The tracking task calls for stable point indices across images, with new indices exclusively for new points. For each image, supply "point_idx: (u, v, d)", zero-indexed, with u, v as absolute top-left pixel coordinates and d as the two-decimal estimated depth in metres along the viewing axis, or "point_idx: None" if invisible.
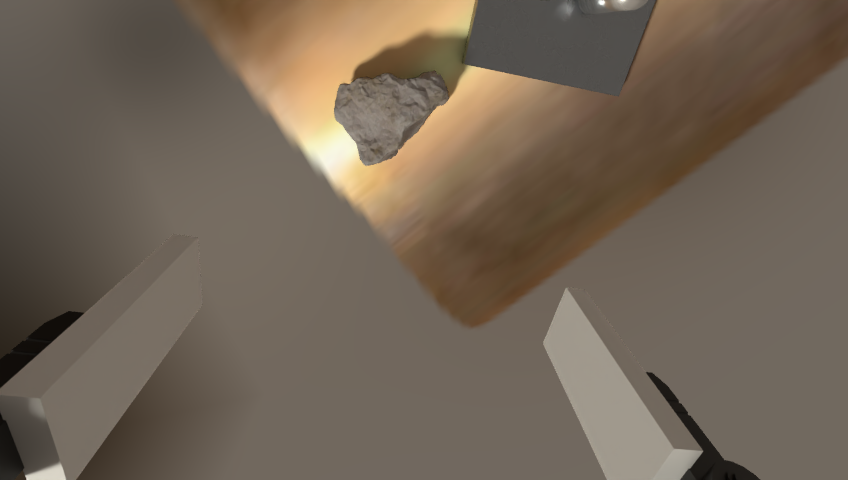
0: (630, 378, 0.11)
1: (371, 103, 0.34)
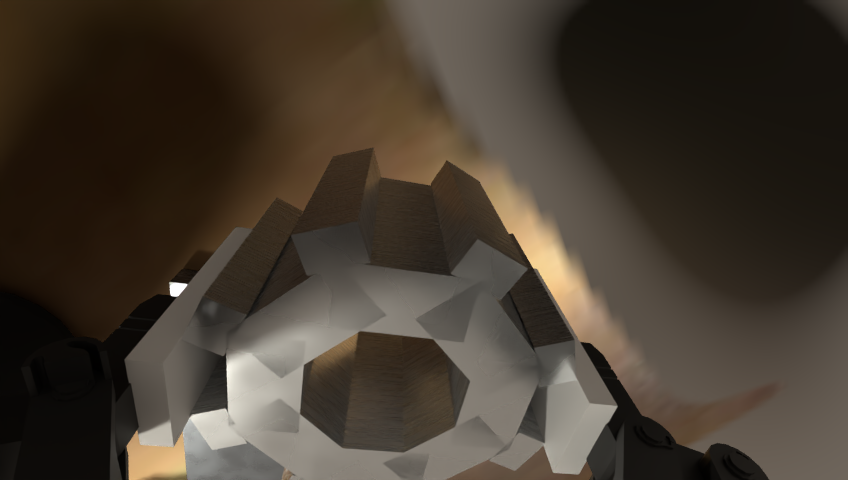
0: None
1: None
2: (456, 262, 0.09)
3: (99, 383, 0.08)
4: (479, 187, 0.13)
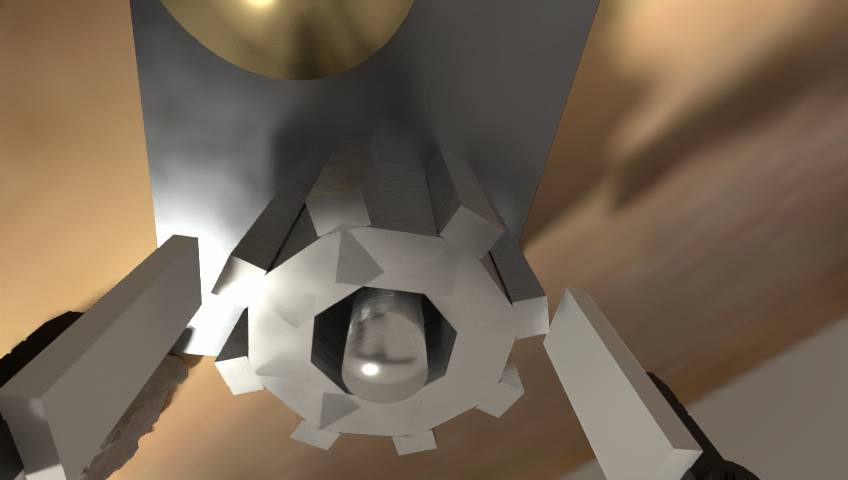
0: (630, 378, 0.11)
1: None
2: (444, 225, 0.10)
3: None
4: (468, 169, 0.15)
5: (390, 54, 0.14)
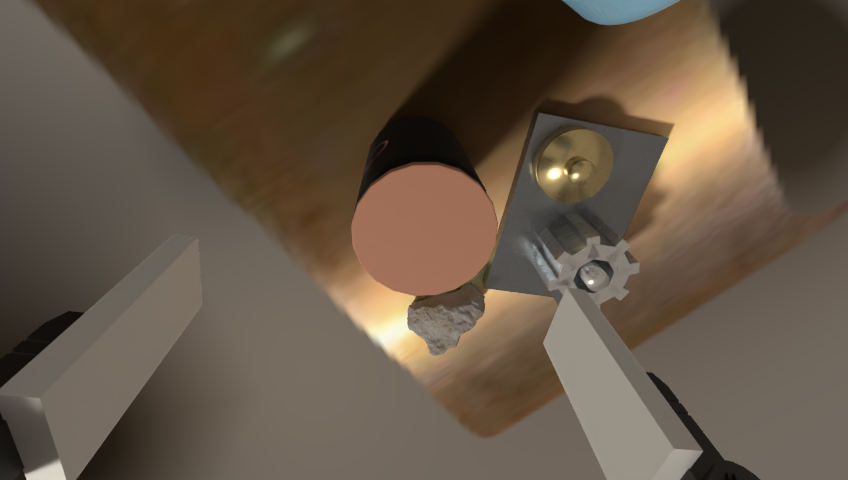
0: (630, 378, 0.11)
1: (434, 323, 0.50)
2: (616, 244, 0.43)
3: None
4: (607, 224, 0.47)
5: None
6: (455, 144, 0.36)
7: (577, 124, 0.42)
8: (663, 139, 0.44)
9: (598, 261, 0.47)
